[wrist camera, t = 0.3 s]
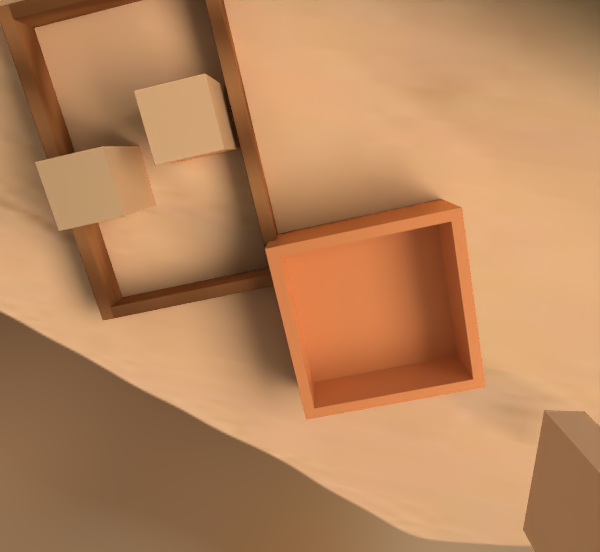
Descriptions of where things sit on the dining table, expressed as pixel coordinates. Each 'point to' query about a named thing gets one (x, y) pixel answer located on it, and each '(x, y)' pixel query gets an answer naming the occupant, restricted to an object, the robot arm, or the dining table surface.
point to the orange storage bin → (378, 308)
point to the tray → (52, 130)
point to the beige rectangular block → (95, 185)
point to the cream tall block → (187, 119)
